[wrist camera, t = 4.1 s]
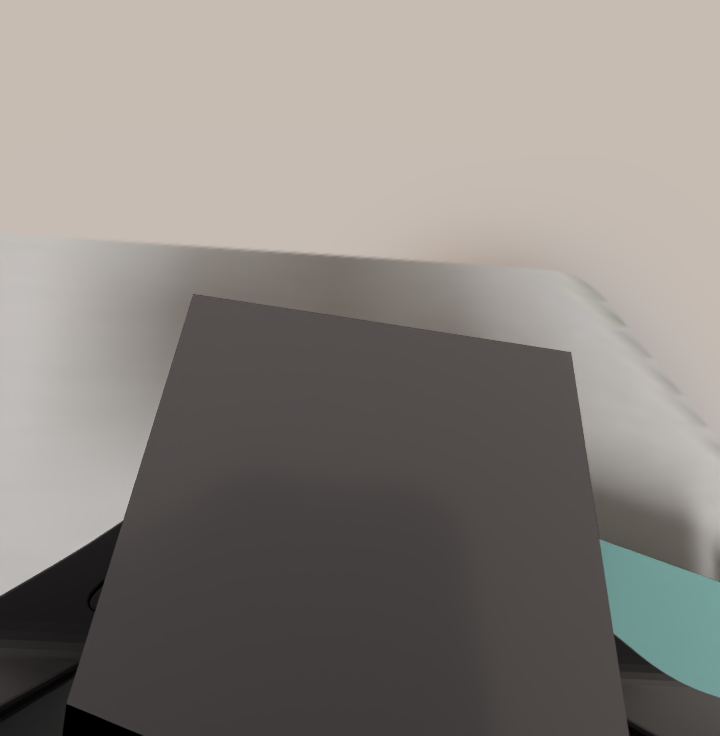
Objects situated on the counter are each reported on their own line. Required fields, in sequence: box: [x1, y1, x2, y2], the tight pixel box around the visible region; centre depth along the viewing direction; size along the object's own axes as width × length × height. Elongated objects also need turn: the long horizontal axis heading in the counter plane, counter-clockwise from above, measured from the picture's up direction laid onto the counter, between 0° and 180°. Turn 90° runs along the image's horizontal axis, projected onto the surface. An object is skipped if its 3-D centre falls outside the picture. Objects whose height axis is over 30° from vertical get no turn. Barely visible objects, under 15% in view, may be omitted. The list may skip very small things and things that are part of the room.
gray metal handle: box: [62, 294, 629, 736], centre depth 9 cm, size 7×7×14 cm
